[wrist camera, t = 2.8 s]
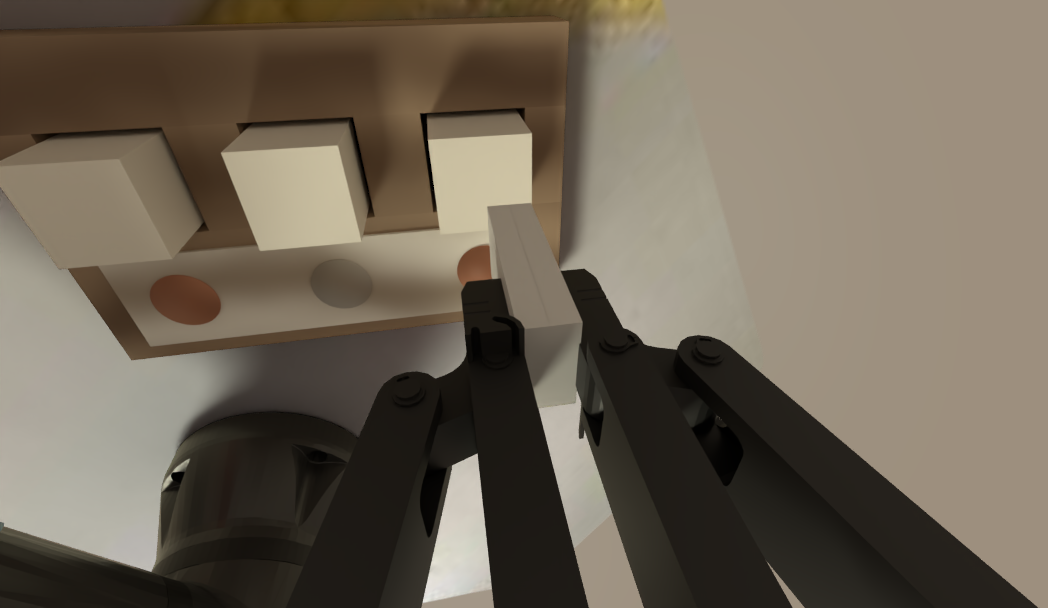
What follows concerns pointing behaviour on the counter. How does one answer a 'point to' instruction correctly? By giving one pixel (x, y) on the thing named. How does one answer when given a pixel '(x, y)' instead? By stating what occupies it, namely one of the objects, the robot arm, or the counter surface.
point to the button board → (278, 95)
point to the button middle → (300, 182)
